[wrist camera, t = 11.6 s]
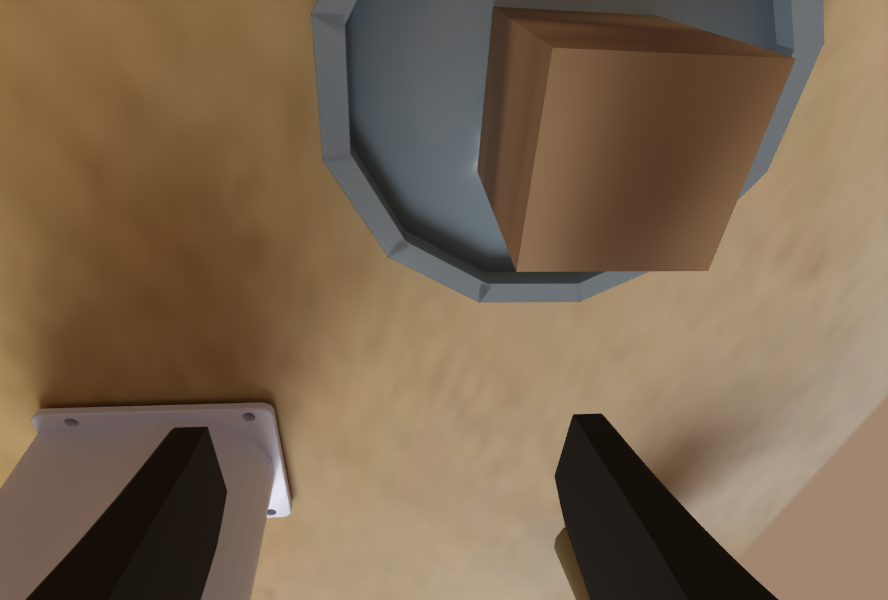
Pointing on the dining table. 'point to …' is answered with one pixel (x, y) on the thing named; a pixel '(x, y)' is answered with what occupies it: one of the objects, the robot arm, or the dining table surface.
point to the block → (619, 137)
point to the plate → (460, 119)
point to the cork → (570, 565)
